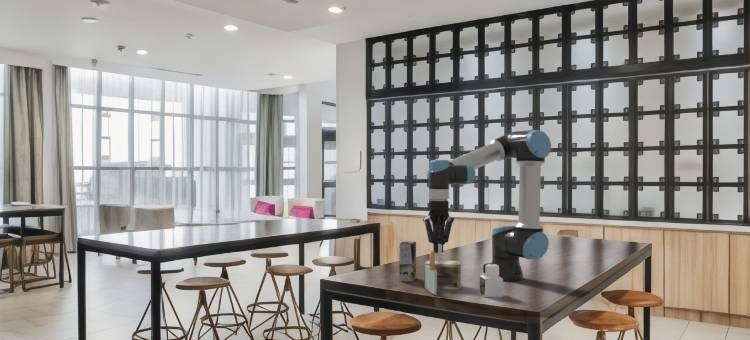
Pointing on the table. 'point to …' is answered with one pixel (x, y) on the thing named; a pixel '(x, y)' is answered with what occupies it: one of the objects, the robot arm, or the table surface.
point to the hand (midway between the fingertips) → (438, 261)
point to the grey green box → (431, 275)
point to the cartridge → (443, 280)
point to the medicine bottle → (491, 281)
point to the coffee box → (407, 261)
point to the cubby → (448, 273)
